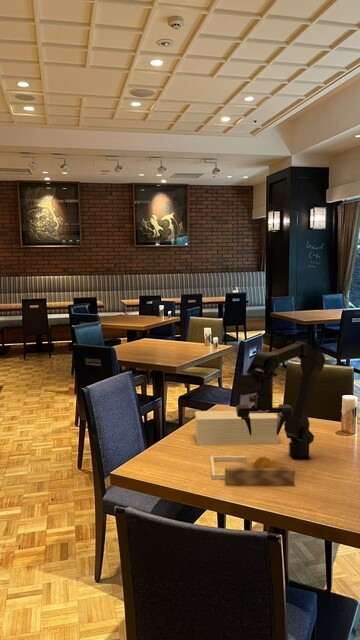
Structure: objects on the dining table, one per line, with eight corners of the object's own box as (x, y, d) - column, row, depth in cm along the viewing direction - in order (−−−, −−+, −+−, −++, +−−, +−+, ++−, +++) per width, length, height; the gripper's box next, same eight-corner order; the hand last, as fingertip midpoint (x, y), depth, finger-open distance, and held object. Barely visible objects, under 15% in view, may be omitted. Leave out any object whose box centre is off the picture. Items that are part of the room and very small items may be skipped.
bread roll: (269, 477, 159) (270, 466, 159) (249, 469, 166) (249, 458, 166) (285, 471, 165) (285, 459, 164) (264, 463, 171) (264, 452, 171)
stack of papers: (196, 445, 189) (196, 419, 188) (195, 436, 199) (195, 411, 198) (277, 444, 190) (278, 418, 188) (271, 435, 200) (272, 410, 199)
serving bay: (246, 460, 173) (246, 456, 173) (251, 479, 158) (251, 475, 157) (210, 460, 174) (210, 456, 174) (212, 479, 158) (212, 474, 158)
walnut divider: (293, 483, 155) (293, 468, 154) (294, 485, 153) (294, 470, 152) (224, 482, 155) (224, 468, 155) (225, 485, 154) (225, 470, 153)
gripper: (286, 384, 171) (286, 426, 173) (234, 384, 171) (234, 427, 173) (293, 392, 160) (293, 437, 162) (237, 393, 160) (237, 438, 162)
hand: (263, 434), depth 165 cm, fingers open, 9 cm apart
